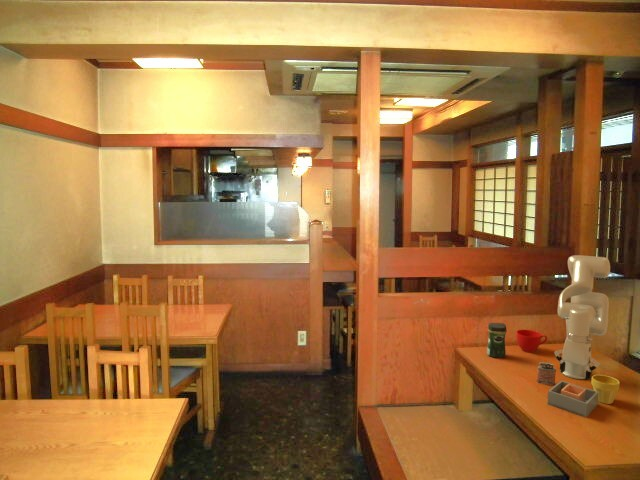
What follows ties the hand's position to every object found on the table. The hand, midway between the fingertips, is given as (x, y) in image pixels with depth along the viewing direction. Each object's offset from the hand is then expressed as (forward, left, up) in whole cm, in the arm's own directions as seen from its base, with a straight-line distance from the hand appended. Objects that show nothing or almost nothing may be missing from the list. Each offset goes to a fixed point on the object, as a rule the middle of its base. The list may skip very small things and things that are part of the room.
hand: (574, 375), depth 188 cm
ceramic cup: (-51, -38, -13) cm, 65 cm away
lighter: (-13, -16, -13) cm, 24 cm away
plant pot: (-14, +8, -13) cm, 21 cm away
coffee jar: (-28, -48, -13) cm, 57 cm away
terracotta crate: (+1, 0, -12) cm, 12 cm away
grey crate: (+1, 0, -13) cm, 13 cm away
